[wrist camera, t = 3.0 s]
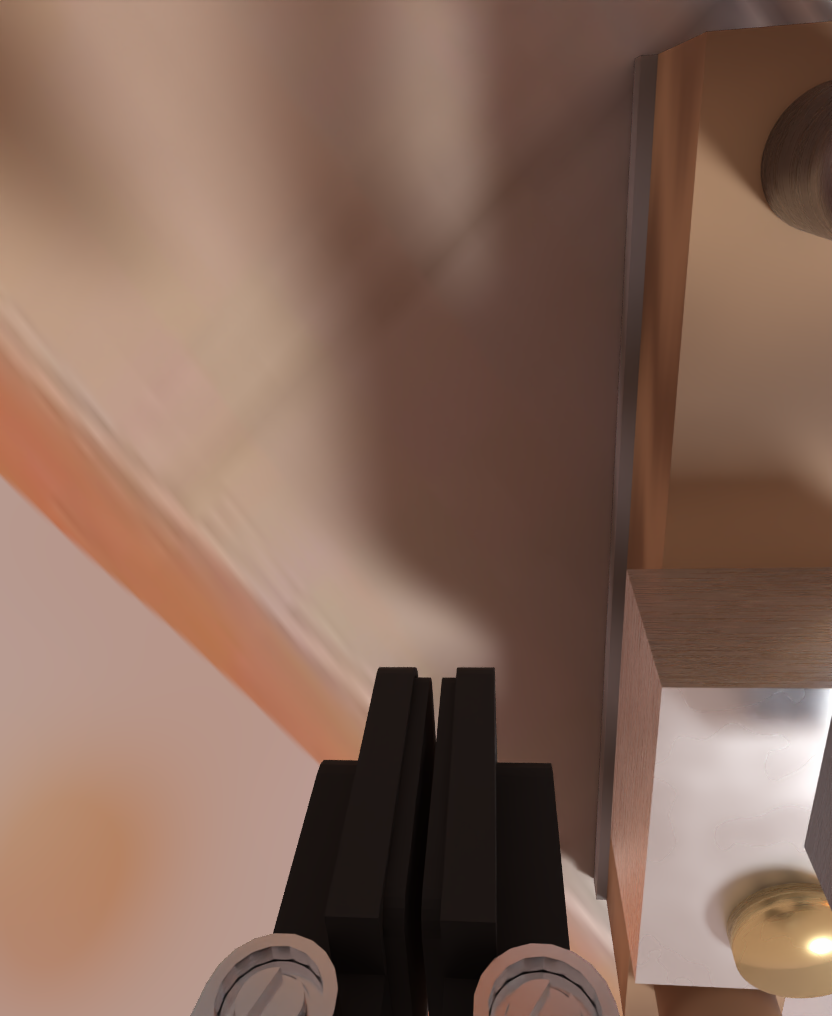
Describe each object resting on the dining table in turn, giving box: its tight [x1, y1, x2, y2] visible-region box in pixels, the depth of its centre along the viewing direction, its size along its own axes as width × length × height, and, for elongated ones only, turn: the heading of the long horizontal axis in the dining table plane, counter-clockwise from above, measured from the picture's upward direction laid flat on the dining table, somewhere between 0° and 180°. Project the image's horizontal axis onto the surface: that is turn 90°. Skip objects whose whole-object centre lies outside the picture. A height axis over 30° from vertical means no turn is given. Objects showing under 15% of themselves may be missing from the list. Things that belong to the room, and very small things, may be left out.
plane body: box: [594, 21, 832, 1016], centre depth 19 cm, size 26×5×8 cm, turn 4°
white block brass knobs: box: [611, 567, 832, 998], centre depth 16 cm, size 8×6×5 cm
